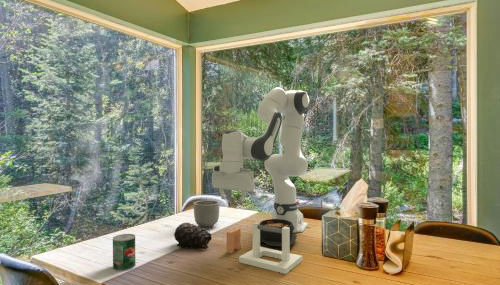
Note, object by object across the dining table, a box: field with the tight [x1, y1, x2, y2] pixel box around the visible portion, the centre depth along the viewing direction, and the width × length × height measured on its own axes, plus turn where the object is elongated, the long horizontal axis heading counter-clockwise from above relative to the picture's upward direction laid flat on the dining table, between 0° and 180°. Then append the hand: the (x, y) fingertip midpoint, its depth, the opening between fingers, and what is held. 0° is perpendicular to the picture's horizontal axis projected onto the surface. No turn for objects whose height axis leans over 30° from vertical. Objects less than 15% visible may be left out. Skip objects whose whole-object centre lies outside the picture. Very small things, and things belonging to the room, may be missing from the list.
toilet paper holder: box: [238, 221, 303, 275], centre depth 120 cm, size 20×14×14 cm
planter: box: [192, 199, 221, 230], centre depth 168 cm, size 14×14×13 cm
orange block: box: [226, 228, 241, 254], centre depth 133 cm, size 6×2×8 cm, turn 147°
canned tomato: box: [112, 233, 136, 272], centre depth 117 cm, size 8×8×11 cm
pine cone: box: [173, 222, 213, 250], centre depth 139 cm, size 10×18×10 cm, turn 77°
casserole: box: [260, 218, 297, 247], centre depth 145 cm, size 25×19×8 cm
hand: (232, 200), depth 132 cm, fingers open, 8 cm apart
